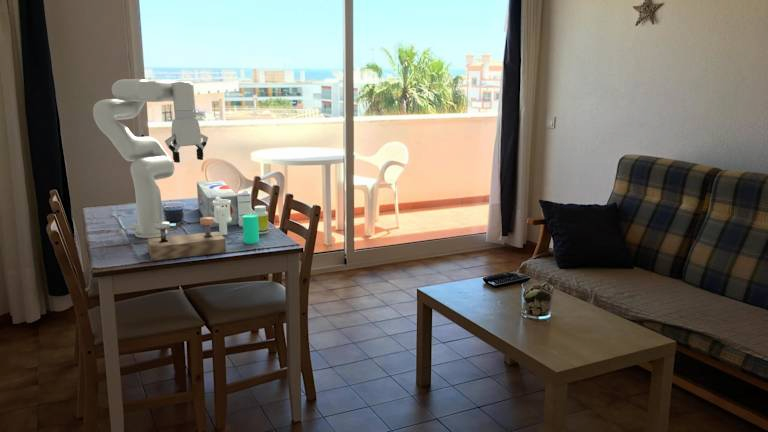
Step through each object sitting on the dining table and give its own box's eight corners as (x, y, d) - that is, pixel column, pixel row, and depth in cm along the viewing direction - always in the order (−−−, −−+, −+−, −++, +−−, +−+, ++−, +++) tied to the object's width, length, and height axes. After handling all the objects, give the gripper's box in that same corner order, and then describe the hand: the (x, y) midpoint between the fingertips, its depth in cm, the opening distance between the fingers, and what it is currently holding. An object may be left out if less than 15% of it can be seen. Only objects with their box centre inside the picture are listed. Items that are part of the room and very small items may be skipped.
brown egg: (202, 239, 237) (201, 220, 235) (200, 236, 241) (198, 217, 240) (216, 237, 239) (215, 219, 237) (213, 234, 243) (212, 216, 242)
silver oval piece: (157, 244, 230) (155, 224, 229) (155, 240, 235) (154, 221, 233) (171, 242, 232) (170, 223, 231) (169, 239, 237) (168, 220, 235)
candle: (255, 244, 249) (254, 213, 246) (241, 243, 250) (239, 213, 247) (261, 240, 254) (260, 210, 252) (247, 239, 256) (245, 209, 253)
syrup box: (252, 225, 277) (251, 192, 274) (238, 226, 276) (237, 193, 272) (252, 222, 282) (251, 190, 279) (238, 223, 281) (237, 190, 278)
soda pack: (197, 209, 310) (195, 180, 307) (224, 206, 315) (223, 179, 312) (209, 228, 274) (207, 196, 270) (239, 225, 278) (237, 194, 275)
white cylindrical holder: (225, 231, 268) (223, 195, 265) (235, 233, 264) (234, 198, 260) (211, 234, 263) (208, 198, 259) (221, 237, 258) (219, 200, 255)
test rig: (152, 260, 227) (151, 247, 226) (148, 252, 238) (147, 238, 237) (225, 251, 238) (225, 238, 237) (219, 243, 249) (218, 231, 248)
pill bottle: (271, 231, 267) (270, 205, 265) (263, 235, 262) (261, 208, 259) (259, 230, 270) (258, 204, 267) (250, 233, 264) (249, 207, 262)
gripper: (200, 113, 247) (203, 157, 251) (158, 116, 235) (162, 162, 239) (211, 114, 242) (214, 159, 246) (168, 117, 230) (172, 164, 234)
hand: (188, 160), depth 242 cm, fingers open, 9 cm apart
